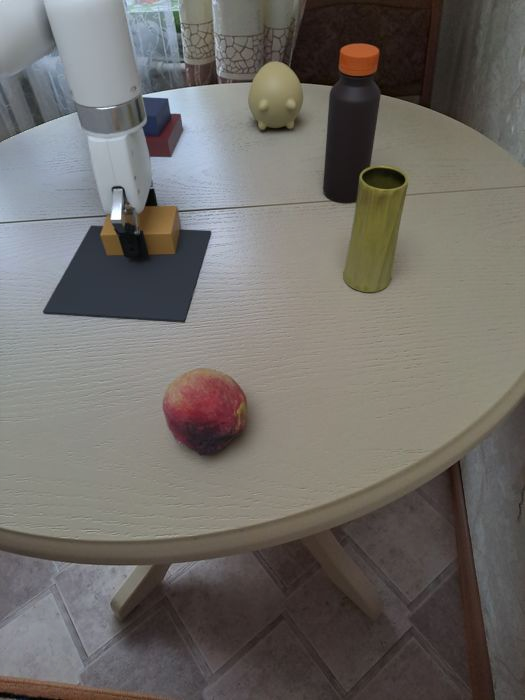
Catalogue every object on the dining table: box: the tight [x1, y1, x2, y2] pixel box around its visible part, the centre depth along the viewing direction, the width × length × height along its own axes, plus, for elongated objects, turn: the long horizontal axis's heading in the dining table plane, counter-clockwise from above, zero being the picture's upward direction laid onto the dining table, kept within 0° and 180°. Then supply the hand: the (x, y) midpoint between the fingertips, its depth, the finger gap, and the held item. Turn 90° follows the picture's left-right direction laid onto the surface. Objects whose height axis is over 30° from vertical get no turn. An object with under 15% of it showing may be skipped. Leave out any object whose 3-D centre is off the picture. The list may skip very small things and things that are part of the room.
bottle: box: [322, 43, 382, 204], centre depth 70 cm, size 7×7×20 cm
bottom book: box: [145, 113, 184, 158], centre depth 90 cm, size 14×10×3 cm
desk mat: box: [42, 225, 212, 323], centre depth 67 cm, size 18×18×1 cm
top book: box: [100, 205, 182, 256], centre depth 69 cm, size 10×7×4 cm
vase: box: [342, 164, 409, 293], centre depth 59 cm, size 6×6×14 cm
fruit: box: [162, 367, 248, 456], centre depth 47 cm, size 8×8×8 cm
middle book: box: [142, 96, 172, 137], centre depth 87 cm, size 11×7×4 cm, turn 80°
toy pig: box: [247, 61, 304, 131], centre depth 90 cm, size 10×12×11 cm
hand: (142, 234), depth 70 cm, fingers open, 9 cm apart
